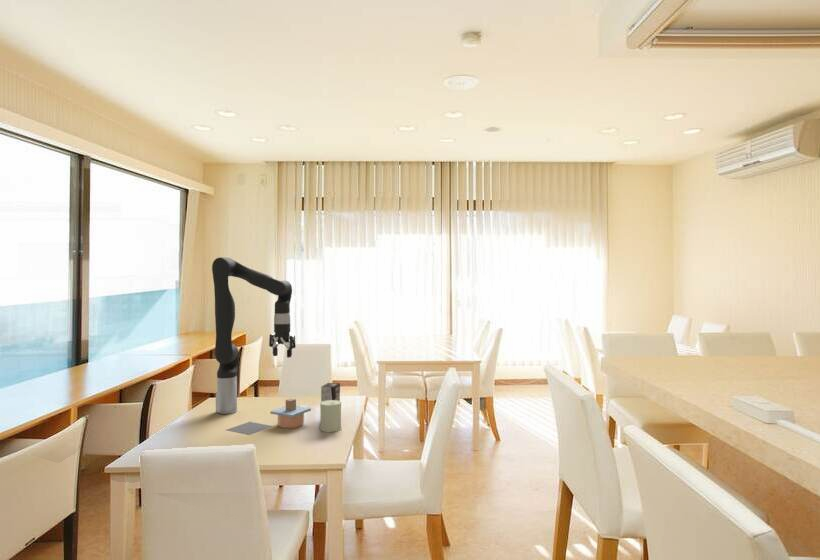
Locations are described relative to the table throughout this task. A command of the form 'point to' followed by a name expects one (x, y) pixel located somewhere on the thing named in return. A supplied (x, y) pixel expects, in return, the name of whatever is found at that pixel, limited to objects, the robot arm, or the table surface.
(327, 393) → the coffee box
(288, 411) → the lid
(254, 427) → the mat
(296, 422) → the bowl
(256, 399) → the table surface
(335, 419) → the can
